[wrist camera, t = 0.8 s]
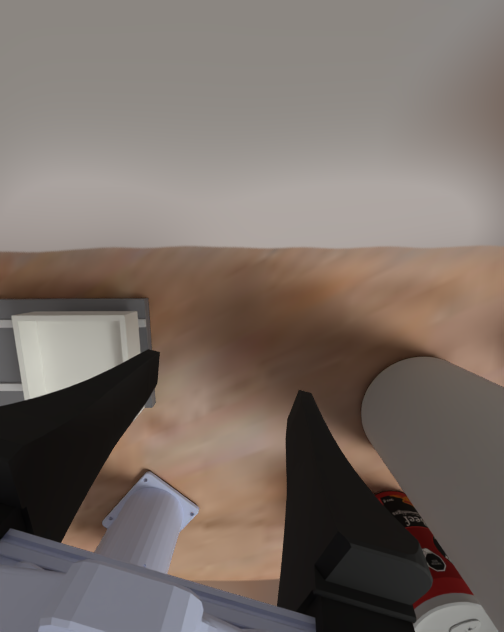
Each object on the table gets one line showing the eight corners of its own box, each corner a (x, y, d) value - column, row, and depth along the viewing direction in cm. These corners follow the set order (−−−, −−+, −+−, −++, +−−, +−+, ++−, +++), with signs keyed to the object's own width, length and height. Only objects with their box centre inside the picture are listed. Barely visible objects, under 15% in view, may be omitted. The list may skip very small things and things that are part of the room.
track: (148, 298, 28) (135, 301, 25) (155, 403, 30) (144, 417, 27) (-56, 299, 28) (-92, 302, 25) (-35, 403, 30) (-67, 417, 27)
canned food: (433, 510, 32) (525, 633, 21) (389, 554, 33) (455, 692, 22) (385, 476, 31) (455, 585, 20) (342, 522, 32) (386, 649, 21)
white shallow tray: (142, 309, 27) (124, 315, 23) (149, 401, 28) (133, 420, 25) (44, 309, 27) (11, 315, 23) (57, 401, 28) (27, 420, 25)
